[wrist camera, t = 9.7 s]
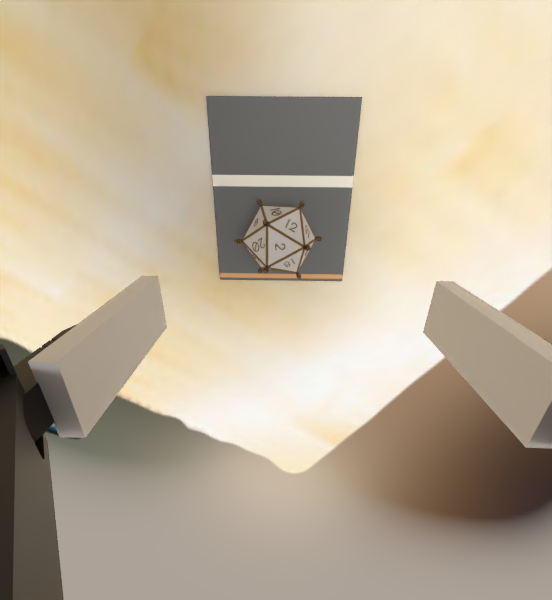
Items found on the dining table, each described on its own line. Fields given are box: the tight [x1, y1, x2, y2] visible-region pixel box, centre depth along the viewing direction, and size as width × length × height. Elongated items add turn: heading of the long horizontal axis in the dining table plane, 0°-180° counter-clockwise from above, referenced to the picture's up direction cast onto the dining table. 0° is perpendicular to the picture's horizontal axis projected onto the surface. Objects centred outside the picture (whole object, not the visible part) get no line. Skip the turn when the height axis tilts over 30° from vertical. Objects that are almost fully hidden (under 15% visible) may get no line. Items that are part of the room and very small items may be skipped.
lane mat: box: [206, 96, 362, 281], centre depth 33 cm, size 20×16×1 cm
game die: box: [234, 198, 323, 280], centre depth 31 cm, size 9×8×10 cm
